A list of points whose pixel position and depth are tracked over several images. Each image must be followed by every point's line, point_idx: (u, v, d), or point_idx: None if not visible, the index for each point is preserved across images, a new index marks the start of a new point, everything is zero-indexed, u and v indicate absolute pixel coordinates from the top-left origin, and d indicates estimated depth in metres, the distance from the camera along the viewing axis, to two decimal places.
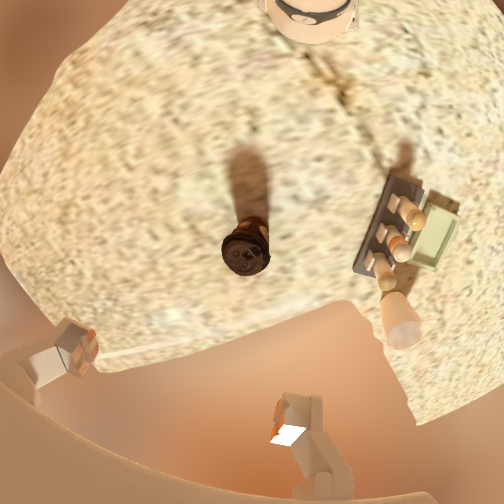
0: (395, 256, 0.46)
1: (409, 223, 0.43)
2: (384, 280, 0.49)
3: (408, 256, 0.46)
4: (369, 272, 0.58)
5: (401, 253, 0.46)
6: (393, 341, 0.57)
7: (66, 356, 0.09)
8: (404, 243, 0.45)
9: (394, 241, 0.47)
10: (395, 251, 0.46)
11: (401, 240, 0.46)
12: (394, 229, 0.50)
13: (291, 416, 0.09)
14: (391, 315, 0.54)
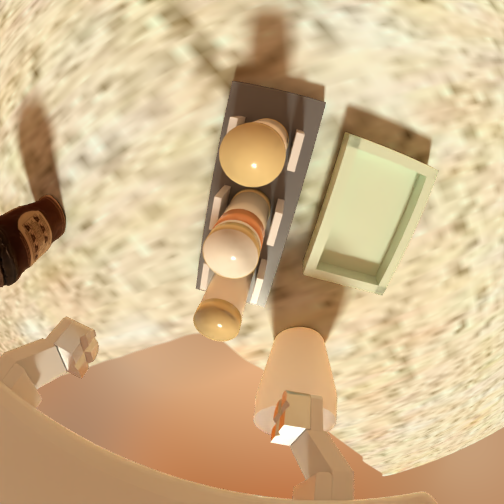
0: (210, 262, 0.19)
1: (223, 163, 0.16)
2: (204, 319, 0.21)
3: (250, 263, 0.18)
4: None
5: (225, 254, 0.18)
6: None
7: (66, 356, 0.09)
8: (229, 226, 0.18)
9: (217, 223, 0.20)
10: (206, 249, 0.18)
11: (231, 220, 0.19)
12: (246, 196, 0.23)
13: (291, 416, 0.09)
14: (267, 381, 0.27)
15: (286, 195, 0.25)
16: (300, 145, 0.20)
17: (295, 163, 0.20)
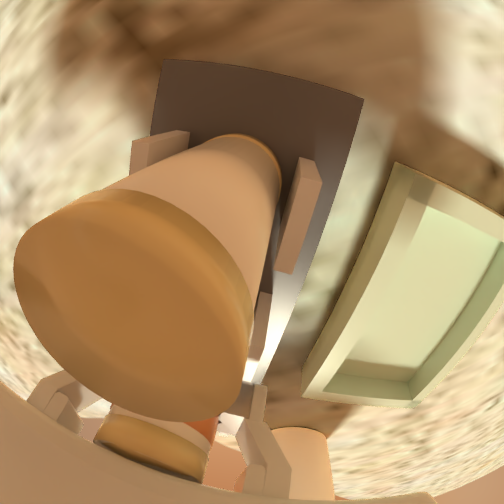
0: None
1: (47, 345, 0.04)
2: None
3: None
4: None
5: None
6: None
7: None
8: (129, 437, 0.06)
9: None
10: None
11: None
12: None
13: None
14: None
15: (276, 287, 0.13)
16: (309, 212, 0.08)
17: (295, 255, 0.08)
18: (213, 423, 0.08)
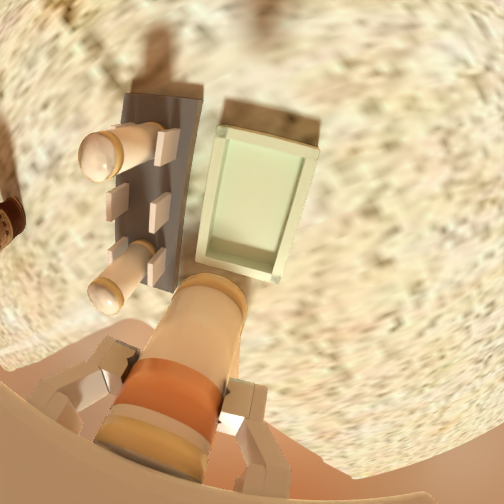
0: None
1: (81, 166, 0.17)
2: (94, 294, 0.23)
3: None
4: None
5: None
6: None
7: (112, 379, 0.09)
8: (129, 438, 0.06)
9: (121, 390, 0.08)
10: None
11: (138, 408, 0.07)
12: (191, 305, 0.11)
13: (230, 403, 0.09)
14: None
15: (172, 188, 0.27)
16: (162, 142, 0.21)
17: (159, 158, 0.22)
18: (213, 424, 0.08)
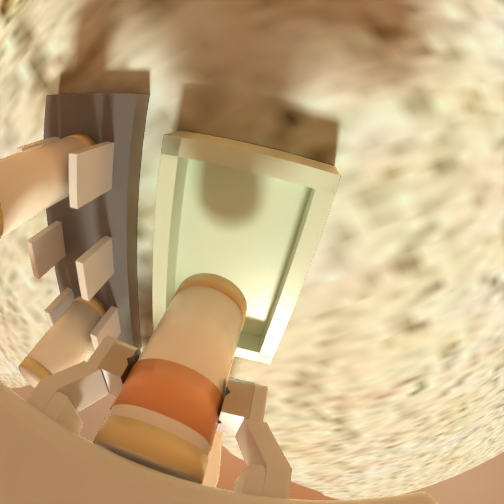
0: None
1: None
2: (27, 376, 0.14)
3: None
4: None
5: None
6: None
7: (112, 379, 0.09)
8: (129, 438, 0.06)
9: (121, 390, 0.08)
10: None
11: (138, 408, 0.07)
12: (191, 306, 0.11)
13: (230, 403, 0.09)
14: None
15: (112, 231, 0.17)
16: (75, 171, 0.12)
17: (75, 197, 0.13)
18: (213, 424, 0.08)
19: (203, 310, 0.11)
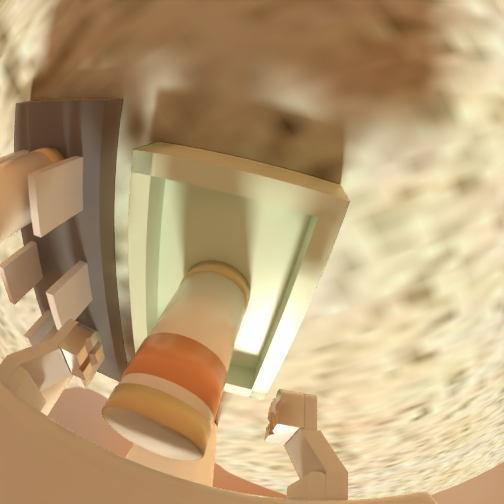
0: (123, 434, 0.08)
1: None
2: None
3: (190, 453, 0.07)
4: None
5: (143, 435, 0.07)
6: None
7: (70, 358, 0.09)
8: (138, 402, 0.07)
9: (131, 363, 0.09)
10: (109, 419, 0.08)
11: (147, 376, 0.08)
12: (199, 288, 0.12)
13: (285, 415, 0.09)
14: None
15: (87, 256, 0.15)
16: (35, 194, 0.09)
17: (38, 224, 0.10)
18: (216, 395, 0.09)
19: (209, 292, 0.12)
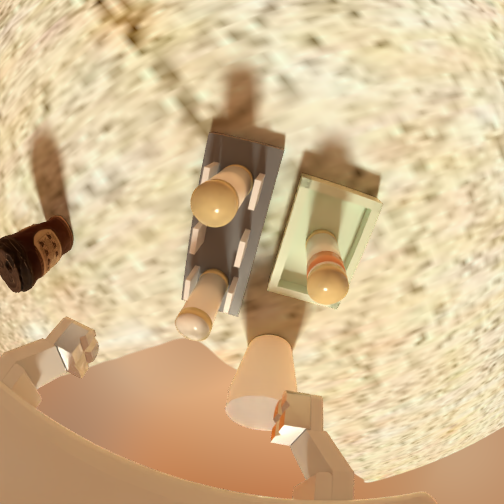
0: (312, 293, 0.25)
1: (194, 209, 0.22)
2: (183, 323, 0.27)
3: (341, 293, 0.24)
4: None
5: (324, 287, 0.24)
6: (257, 413, 0.35)
7: (66, 356, 0.09)
8: (330, 267, 0.24)
9: (313, 262, 0.26)
10: (310, 283, 0.24)
11: (327, 261, 0.25)
12: (324, 238, 0.29)
13: (291, 416, 0.09)
14: (237, 378, 0.33)
15: (252, 226, 0.32)
16: (258, 189, 0.26)
17: (254, 203, 0.27)
18: None
19: (329, 239, 0.29)
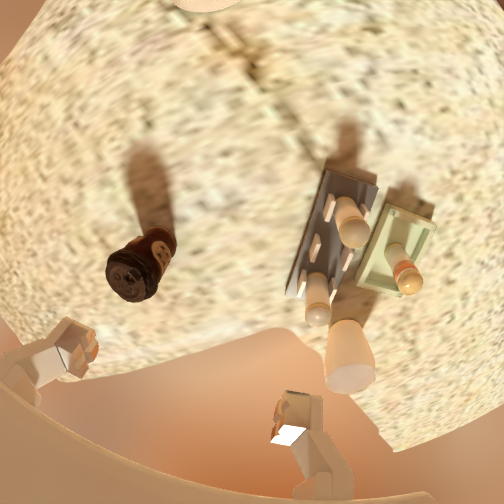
0: (401, 288, 0.35)
1: (341, 236, 0.32)
2: (312, 314, 0.38)
3: (418, 287, 0.34)
4: None
5: (409, 284, 0.34)
6: (341, 382, 0.46)
7: (66, 356, 0.09)
8: (413, 272, 0.33)
9: (400, 268, 0.35)
10: (401, 282, 0.34)
11: (410, 268, 0.34)
12: (400, 249, 0.39)
13: (291, 416, 0.09)
14: (333, 353, 0.43)
15: None
16: (367, 218, 0.36)
17: None
18: None
19: (403, 250, 0.39)
